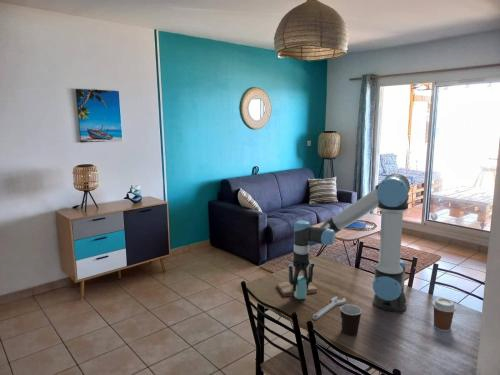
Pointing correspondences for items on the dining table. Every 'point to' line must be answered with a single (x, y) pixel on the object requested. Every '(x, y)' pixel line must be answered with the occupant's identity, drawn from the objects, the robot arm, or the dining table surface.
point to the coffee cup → (443, 313)
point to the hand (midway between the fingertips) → (300, 295)
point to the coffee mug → (350, 319)
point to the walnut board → (288, 288)
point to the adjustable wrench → (329, 307)
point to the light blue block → (301, 287)
